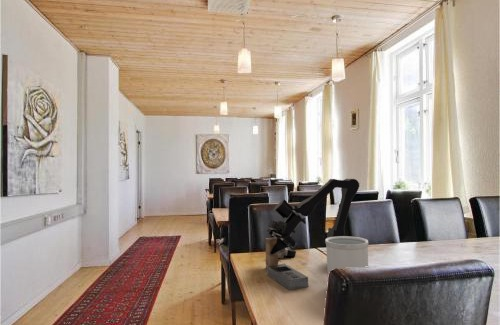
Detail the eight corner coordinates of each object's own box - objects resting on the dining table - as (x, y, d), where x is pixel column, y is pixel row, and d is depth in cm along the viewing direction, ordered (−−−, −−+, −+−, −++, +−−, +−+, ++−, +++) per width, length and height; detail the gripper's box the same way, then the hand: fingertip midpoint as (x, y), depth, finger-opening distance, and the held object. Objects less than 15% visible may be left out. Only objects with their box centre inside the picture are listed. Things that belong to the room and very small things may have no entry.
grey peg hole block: (267, 274, 125) (267, 265, 125) (284, 272, 128) (284, 263, 128) (289, 290, 108) (289, 280, 108) (308, 286, 111) (308, 276, 111)
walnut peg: (274, 266, 136) (273, 237, 136) (278, 269, 132) (277, 239, 133) (266, 267, 134) (265, 238, 135) (269, 270, 131) (269, 240, 131)
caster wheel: (295, 259, 155) (291, 262, 145) (274, 253, 159) (269, 255, 149) (298, 246, 155) (294, 248, 146) (277, 240, 159) (272, 241, 150)
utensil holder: (319, 284, 114) (317, 237, 114) (353, 279, 118) (352, 234, 118) (341, 300, 99) (339, 246, 100) (379, 294, 103) (377, 242, 104)
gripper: (269, 211, 144) (248, 236, 140) (289, 216, 127) (265, 245, 122) (284, 226, 147) (264, 251, 142) (305, 233, 130) (283, 262, 125)
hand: (268, 252), depth 133 cm, fingers closed on walnut peg, 4 cm apart
